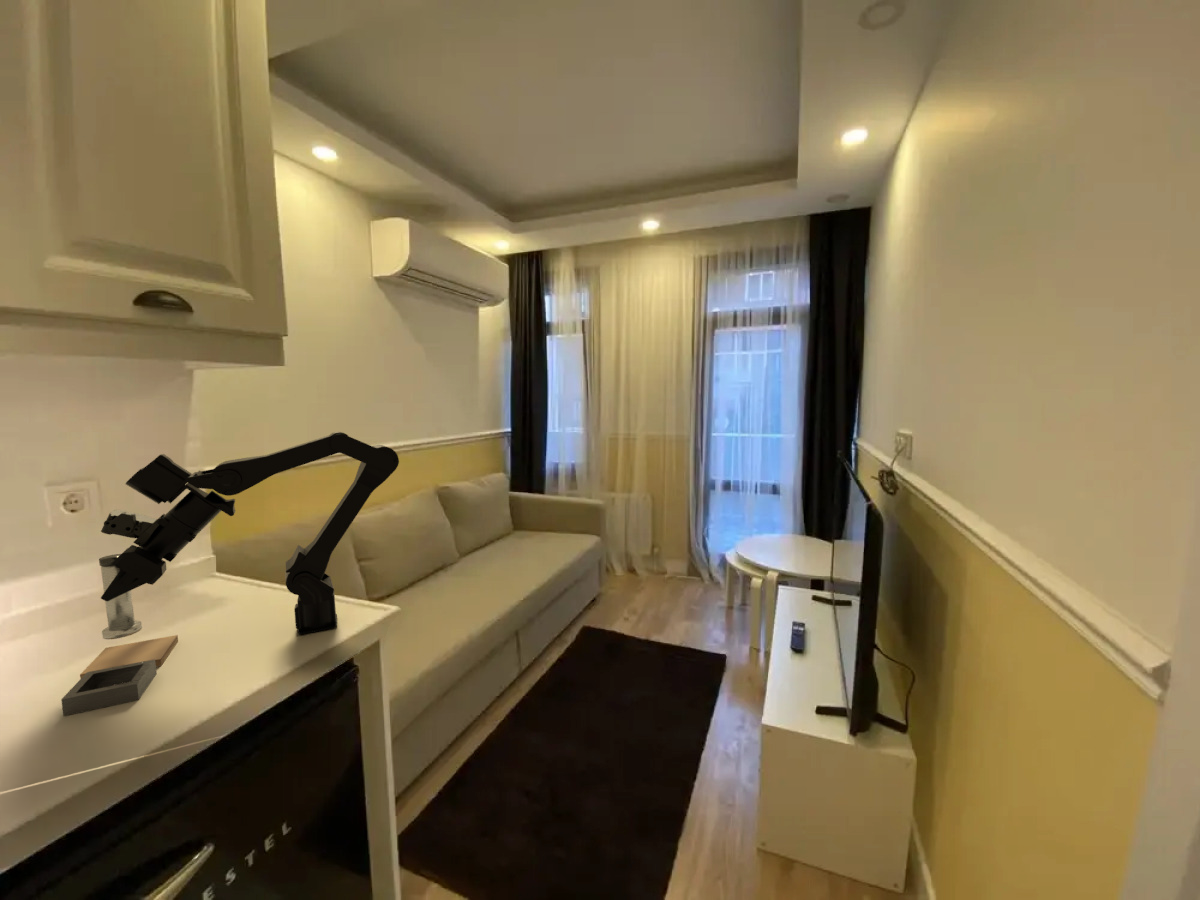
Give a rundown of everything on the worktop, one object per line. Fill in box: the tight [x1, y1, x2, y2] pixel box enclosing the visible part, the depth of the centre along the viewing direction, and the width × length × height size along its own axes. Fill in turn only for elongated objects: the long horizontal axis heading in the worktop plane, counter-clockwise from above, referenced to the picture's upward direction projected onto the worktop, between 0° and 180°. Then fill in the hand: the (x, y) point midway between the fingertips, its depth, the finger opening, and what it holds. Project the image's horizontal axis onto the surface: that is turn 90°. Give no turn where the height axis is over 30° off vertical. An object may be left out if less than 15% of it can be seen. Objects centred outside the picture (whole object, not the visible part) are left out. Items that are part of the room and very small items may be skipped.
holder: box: [60, 659, 157, 717], centre depth 77 cm, size 8×8×2 cm
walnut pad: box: [79, 634, 179, 679], centre depth 87 cm, size 10×10×1 cm
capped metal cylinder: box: [98, 553, 143, 640], centre depth 84 cm, size 5×5×13 cm
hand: (107, 596), depth 83 cm, fingers closed on capped metal cylinder, 3 cm apart
